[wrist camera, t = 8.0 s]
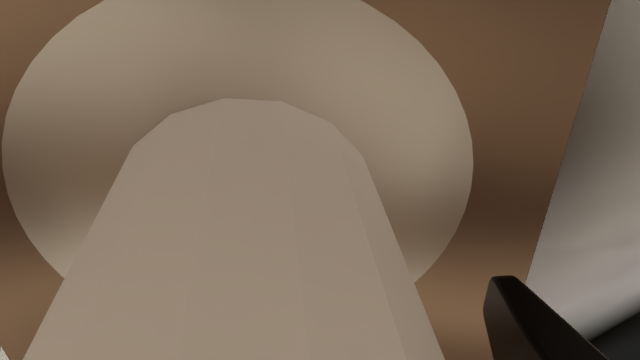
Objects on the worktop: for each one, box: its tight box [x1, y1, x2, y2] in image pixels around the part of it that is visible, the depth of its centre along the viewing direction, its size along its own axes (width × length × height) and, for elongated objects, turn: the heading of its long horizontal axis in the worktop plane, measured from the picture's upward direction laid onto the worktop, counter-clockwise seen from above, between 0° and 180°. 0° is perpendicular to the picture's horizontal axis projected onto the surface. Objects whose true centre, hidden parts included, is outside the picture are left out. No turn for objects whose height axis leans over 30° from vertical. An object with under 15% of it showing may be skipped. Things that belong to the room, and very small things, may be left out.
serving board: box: [0, 0, 611, 360], centre depth 13 cm, size 20×14×1 cm
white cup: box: [23, 98, 445, 360], centre depth 10 cm, size 7×7×7 cm
